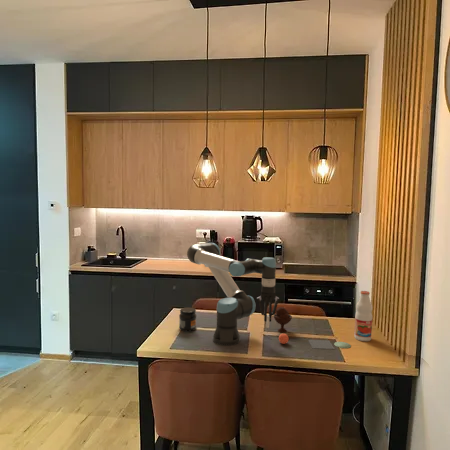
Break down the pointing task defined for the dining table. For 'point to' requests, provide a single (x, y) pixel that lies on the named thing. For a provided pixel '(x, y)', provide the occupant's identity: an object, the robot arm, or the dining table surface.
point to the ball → (283, 338)
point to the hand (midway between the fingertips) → (267, 327)
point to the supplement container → (187, 319)
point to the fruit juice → (363, 318)
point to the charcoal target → (321, 344)
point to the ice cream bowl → (282, 318)
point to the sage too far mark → (342, 344)
